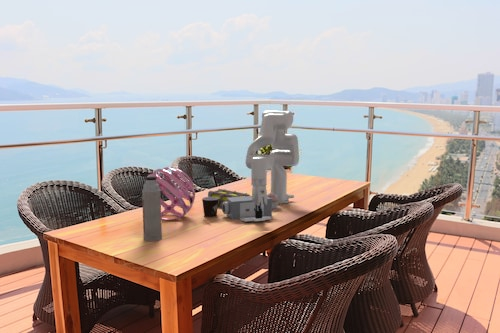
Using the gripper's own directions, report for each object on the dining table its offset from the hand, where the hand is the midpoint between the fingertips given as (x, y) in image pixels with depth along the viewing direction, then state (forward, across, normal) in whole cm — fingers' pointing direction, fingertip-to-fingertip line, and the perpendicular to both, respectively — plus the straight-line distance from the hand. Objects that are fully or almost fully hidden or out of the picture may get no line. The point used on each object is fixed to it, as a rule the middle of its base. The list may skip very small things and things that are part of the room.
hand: (258, 218), depth 232 cm
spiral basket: (+4, +27, +39) cm, 47 cm away
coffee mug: (+4, +22, +18) cm, 28 cm away
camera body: (+3, +16, +1) cm, 16 cm away
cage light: (+4, +44, +3) cm, 44 cm away
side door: (+3, +10, 0) cm, 10 cm away
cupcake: (+4, +28, -17) cm, 33 cm away
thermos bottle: (+3, -7, +53) cm, 54 cm away
